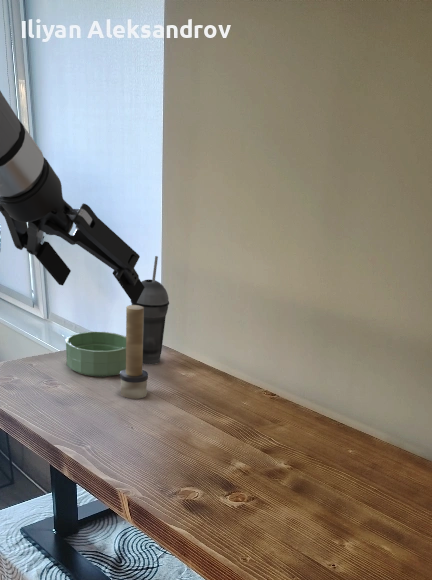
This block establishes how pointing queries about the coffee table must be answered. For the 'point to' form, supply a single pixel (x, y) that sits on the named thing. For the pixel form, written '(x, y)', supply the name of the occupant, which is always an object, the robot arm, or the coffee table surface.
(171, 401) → the coffee table surface
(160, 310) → the beverage cup
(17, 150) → the robot arm
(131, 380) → the dowel on round base
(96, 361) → the bowl
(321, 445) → the coffee table surface
